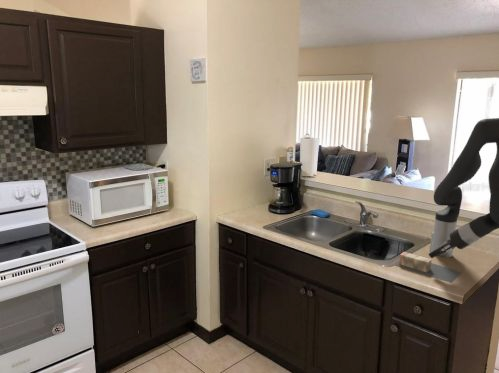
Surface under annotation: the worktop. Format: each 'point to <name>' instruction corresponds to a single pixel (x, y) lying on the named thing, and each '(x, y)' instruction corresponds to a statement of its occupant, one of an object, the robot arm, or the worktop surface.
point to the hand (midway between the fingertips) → (430, 255)
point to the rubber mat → (437, 272)
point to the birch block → (415, 261)
